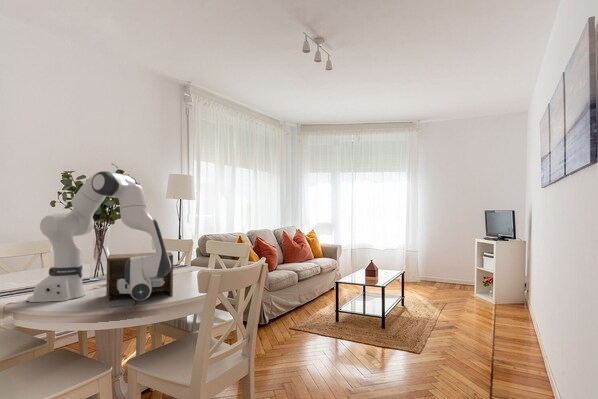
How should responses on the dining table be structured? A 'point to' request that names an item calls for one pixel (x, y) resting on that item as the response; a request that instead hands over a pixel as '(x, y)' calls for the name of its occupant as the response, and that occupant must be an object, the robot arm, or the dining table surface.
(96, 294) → the dining table surface
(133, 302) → the mat
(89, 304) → the dining table surface
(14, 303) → the dining table surface
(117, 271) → the wooden bench shelf
